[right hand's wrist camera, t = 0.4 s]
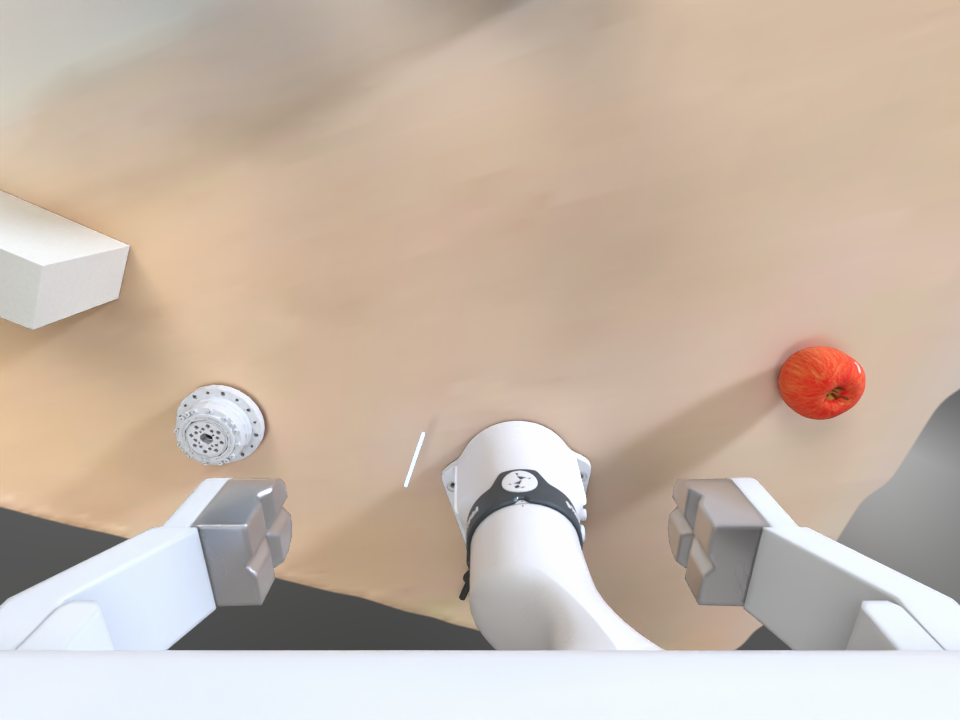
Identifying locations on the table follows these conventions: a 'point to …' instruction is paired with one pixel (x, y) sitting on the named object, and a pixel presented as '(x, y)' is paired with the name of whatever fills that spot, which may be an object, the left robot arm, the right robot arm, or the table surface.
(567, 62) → the table surface
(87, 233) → the box
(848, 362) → the apple
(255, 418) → the mechanical component
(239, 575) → the right robot arm
